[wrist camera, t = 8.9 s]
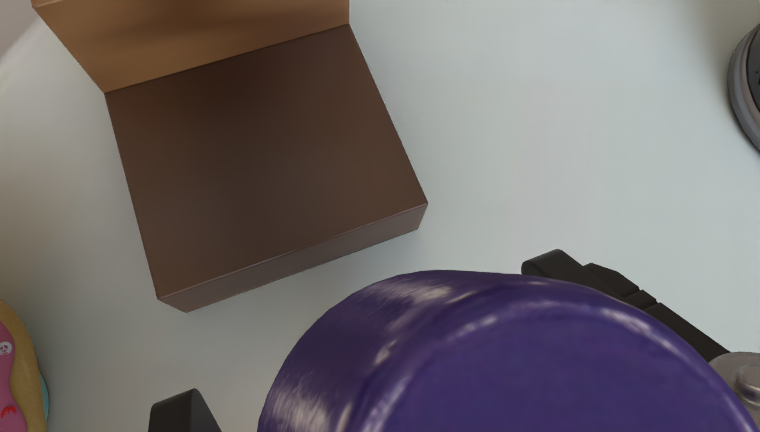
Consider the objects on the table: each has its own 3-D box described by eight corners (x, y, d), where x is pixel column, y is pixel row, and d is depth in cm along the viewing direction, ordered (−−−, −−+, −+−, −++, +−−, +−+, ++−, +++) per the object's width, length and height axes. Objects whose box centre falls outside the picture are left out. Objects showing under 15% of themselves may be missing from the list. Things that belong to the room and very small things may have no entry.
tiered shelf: (320, 0, 24) (308, -161, 17) (418, 229, 21) (453, 146, 14) (114, 56, 23) (8, -96, 16) (185, 313, 19) (89, 268, 12)
